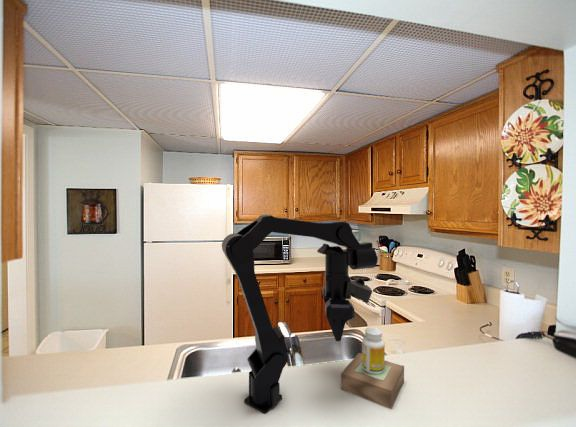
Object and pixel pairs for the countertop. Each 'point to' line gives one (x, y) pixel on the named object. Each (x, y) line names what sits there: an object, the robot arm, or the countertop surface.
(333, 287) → the robot arm
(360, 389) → the walnut riser
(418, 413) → the countertop surface
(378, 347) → the supplement bottle
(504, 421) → the countertop surface
